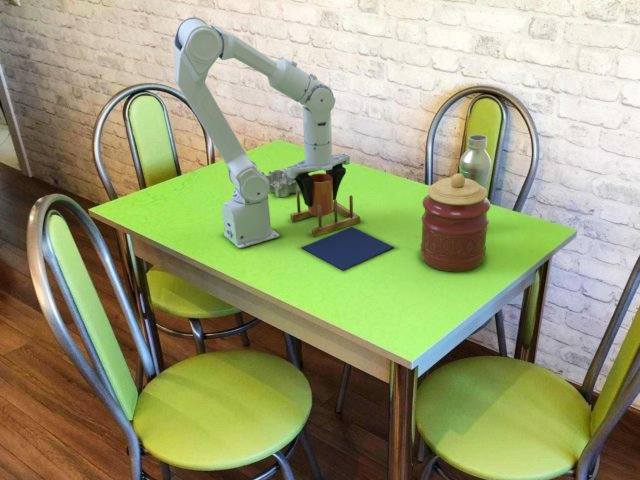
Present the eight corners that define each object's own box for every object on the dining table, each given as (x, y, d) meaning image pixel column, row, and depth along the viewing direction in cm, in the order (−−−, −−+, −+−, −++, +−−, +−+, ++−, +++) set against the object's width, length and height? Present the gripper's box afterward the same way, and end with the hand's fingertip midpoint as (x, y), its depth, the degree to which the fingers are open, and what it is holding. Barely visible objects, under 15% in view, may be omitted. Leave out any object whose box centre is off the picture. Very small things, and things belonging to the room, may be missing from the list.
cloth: (343, 271, 136) (343, 269, 136) (301, 248, 144) (301, 247, 144) (393, 248, 144) (394, 246, 144) (351, 227, 152) (351, 226, 152)
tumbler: (316, 218, 149) (315, 185, 145) (303, 209, 153) (301, 176, 149) (338, 211, 152) (337, 179, 148) (324, 203, 156) (323, 171, 152)
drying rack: (313, 236, 148) (312, 207, 145) (290, 220, 155) (288, 191, 151) (360, 222, 154) (360, 193, 150) (335, 207, 161) (334, 179, 157)
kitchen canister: (430, 276, 134) (434, 190, 124) (412, 245, 144) (415, 164, 135) (494, 269, 136) (503, 184, 126) (472, 239, 146) (479, 159, 137)
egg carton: (256, 186, 172) (254, 170, 170) (282, 178, 176) (280, 163, 173) (279, 199, 165) (277, 183, 162) (305, 191, 168) (304, 175, 166)
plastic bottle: (485, 235, 148) (494, 144, 137) (453, 232, 149) (459, 142, 138) (486, 222, 153) (495, 133, 142) (455, 220, 155) (462, 131, 144)
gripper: (297, 153, 138) (300, 216, 145) (357, 139, 144) (358, 200, 152) (279, 143, 143) (284, 205, 150) (339, 130, 149) (340, 189, 157)
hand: (320, 201), depth 151 cm, fingers closed on tumbler, 5 cm apart
